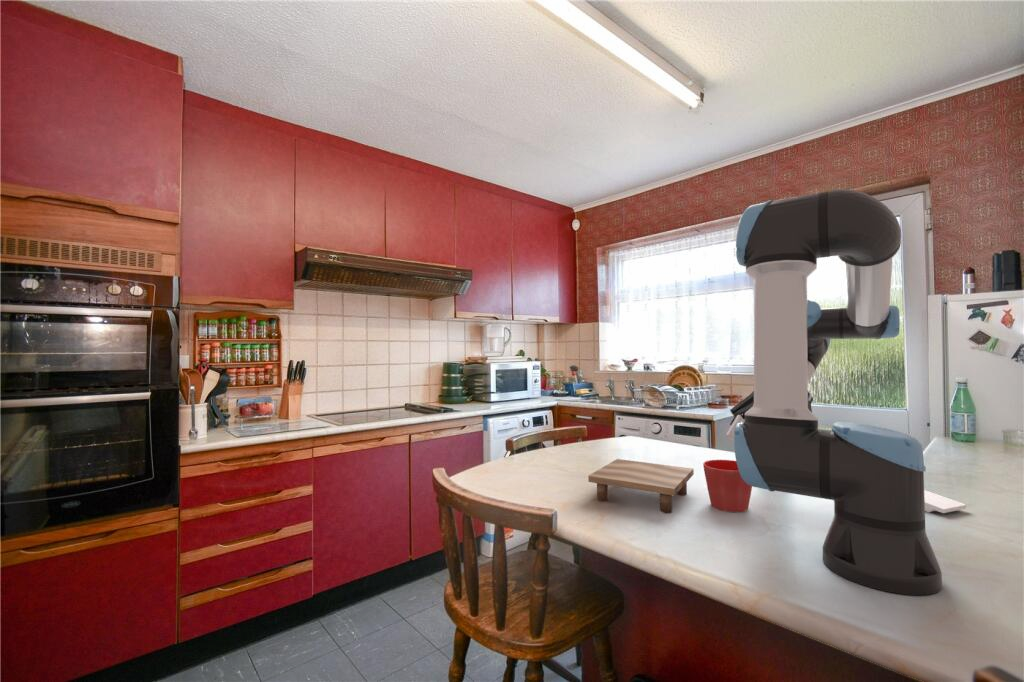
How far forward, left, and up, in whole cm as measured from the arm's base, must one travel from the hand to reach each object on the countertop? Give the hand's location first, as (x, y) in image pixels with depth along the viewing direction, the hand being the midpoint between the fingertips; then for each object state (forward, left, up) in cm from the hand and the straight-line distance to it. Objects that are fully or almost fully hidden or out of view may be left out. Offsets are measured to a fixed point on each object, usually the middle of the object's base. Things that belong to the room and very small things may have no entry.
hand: (754, 442), depth 111 cm
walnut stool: (-12, +24, -14) cm, 30 cm away
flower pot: (-9, +5, -14) cm, 17 cm away
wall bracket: (+21, -26, -14) cm, 37 cm away
